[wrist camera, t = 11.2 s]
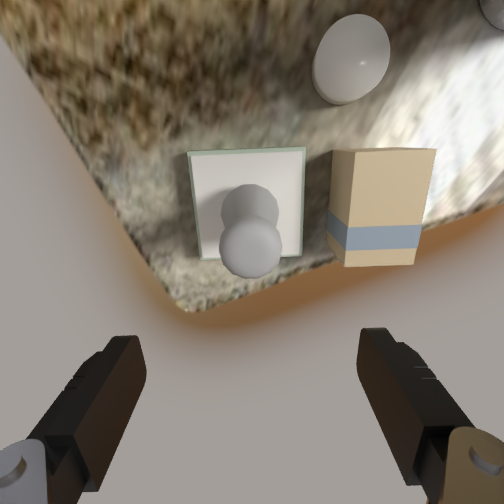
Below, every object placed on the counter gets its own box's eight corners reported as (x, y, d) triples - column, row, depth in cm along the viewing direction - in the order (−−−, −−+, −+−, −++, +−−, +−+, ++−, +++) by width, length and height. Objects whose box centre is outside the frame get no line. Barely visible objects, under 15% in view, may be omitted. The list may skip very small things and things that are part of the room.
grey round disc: (302, 48, 27) (306, 35, 24) (367, 17, 26) (380, -1, 23) (322, 115, 29) (329, 110, 26) (384, 88, 28) (397, 79, 25)
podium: (301, 146, 30) (306, 146, 27) (298, 247, 35) (302, 257, 32) (192, 150, 30) (186, 151, 27) (203, 251, 35) (199, 261, 32)
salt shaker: (270, 237, 31) (283, 300, 19) (219, 228, 30) (200, 287, 18) (282, 185, 29) (305, 219, 17) (227, 175, 28) (211, 202, 16)
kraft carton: (396, 147, 30) (437, 148, 24) (382, 240, 34) (414, 264, 28) (332, 149, 30) (355, 152, 24) (325, 243, 34) (343, 267, 28)
